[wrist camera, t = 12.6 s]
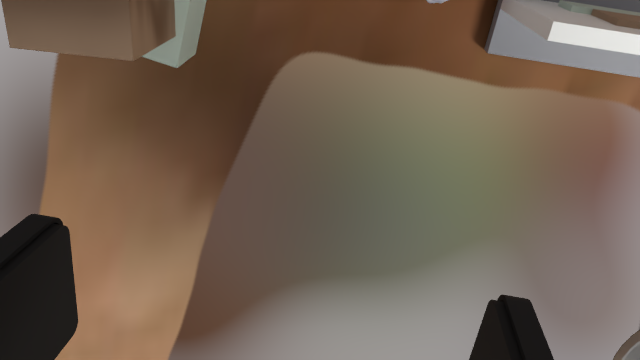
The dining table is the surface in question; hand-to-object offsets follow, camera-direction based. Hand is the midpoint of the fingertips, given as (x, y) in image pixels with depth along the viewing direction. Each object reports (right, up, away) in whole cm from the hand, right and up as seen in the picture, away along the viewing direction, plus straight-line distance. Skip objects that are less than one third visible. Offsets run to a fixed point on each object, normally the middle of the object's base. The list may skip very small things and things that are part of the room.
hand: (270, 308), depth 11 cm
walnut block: (-10, +14, +17) cm, 24 cm away
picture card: (+17, +13, +19) cm, 28 cm away
